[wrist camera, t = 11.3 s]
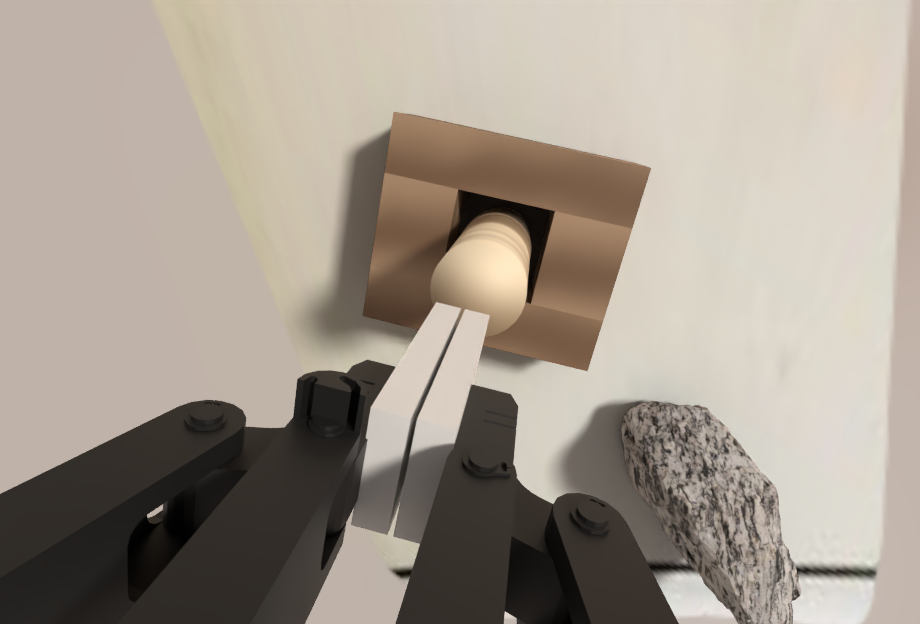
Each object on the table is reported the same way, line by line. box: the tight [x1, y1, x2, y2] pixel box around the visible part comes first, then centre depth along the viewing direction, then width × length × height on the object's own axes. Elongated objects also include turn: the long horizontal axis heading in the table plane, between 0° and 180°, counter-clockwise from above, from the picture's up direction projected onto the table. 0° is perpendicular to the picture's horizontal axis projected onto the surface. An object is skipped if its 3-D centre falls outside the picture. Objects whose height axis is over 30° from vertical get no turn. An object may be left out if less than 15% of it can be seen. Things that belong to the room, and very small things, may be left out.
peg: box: [430, 207, 531, 337], centre depth 29 cm, size 4×4×14 cm
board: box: [363, 112, 651, 371], centre depth 33 cm, size 12×14×5 cm
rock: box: [619, 401, 801, 624], centre depth 35 cm, size 16×8×10 cm, turn 15°
